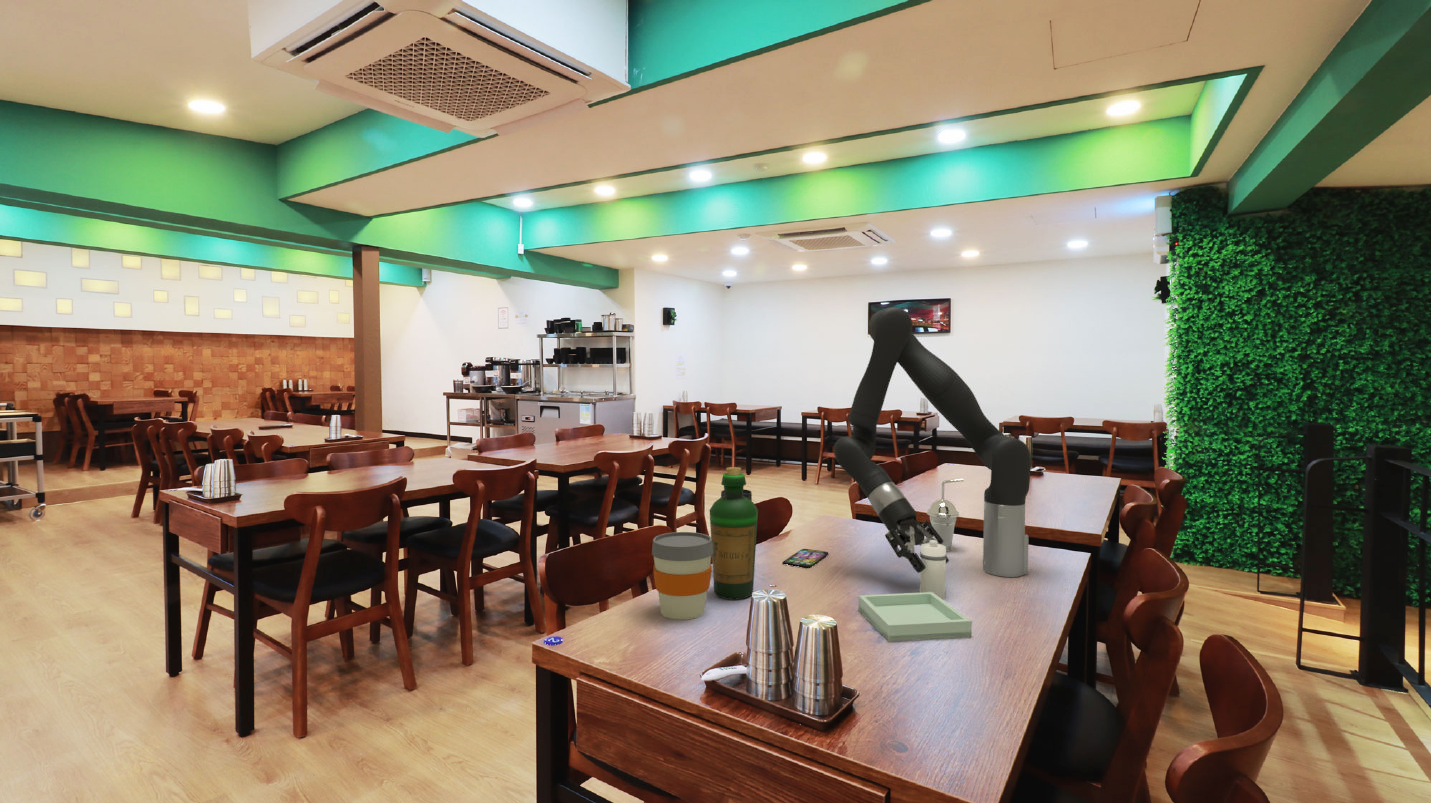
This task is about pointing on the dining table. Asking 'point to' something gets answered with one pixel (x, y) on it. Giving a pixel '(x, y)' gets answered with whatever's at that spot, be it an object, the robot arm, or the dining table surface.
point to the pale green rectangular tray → (914, 616)
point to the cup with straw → (944, 517)
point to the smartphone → (806, 558)
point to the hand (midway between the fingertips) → (934, 567)
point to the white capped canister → (933, 568)
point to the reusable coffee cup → (682, 573)
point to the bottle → (733, 538)
